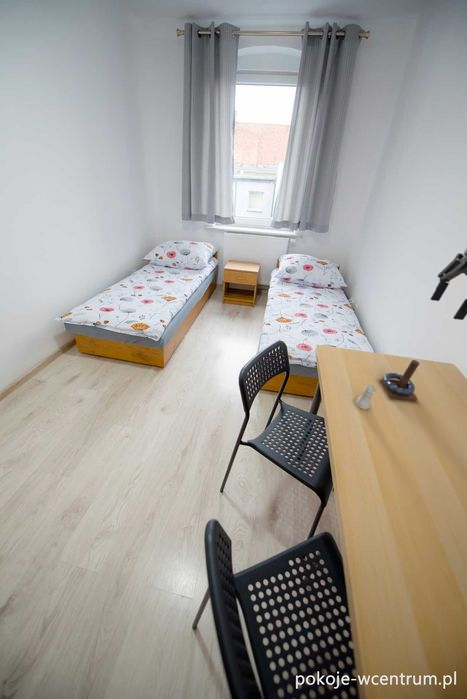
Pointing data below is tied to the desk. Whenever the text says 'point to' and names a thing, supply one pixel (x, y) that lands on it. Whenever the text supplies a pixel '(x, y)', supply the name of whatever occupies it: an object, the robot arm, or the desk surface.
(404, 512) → the desk surface
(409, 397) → the stand
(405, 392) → the ring
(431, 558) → the desk surface
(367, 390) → the rook chess piece
